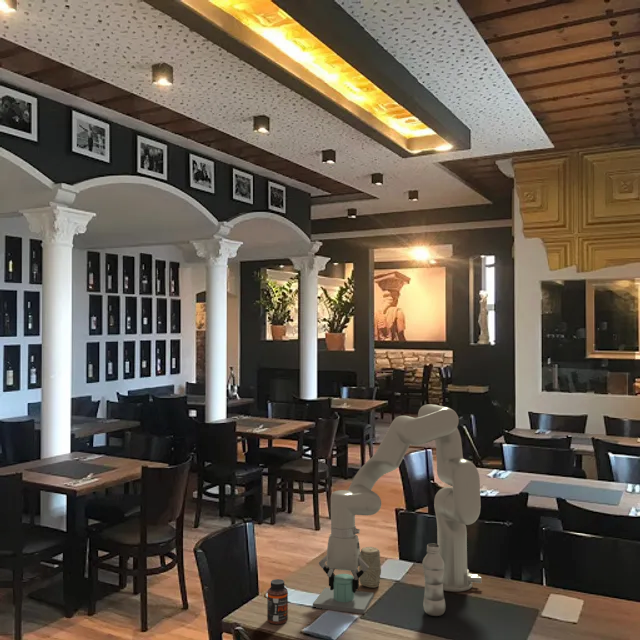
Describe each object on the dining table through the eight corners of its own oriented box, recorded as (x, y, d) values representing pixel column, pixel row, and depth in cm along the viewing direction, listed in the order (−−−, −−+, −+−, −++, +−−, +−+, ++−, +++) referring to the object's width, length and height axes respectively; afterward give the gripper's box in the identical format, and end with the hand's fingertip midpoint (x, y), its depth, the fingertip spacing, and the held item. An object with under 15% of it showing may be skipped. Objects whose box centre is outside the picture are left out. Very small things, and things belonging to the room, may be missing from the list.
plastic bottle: (432, 620, 184) (431, 550, 184) (418, 611, 190) (417, 544, 190) (450, 616, 187) (449, 547, 187) (436, 607, 193) (434, 540, 193)
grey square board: (373, 596, 201) (373, 578, 201) (364, 613, 189) (363, 594, 189) (325, 591, 206) (325, 573, 206) (312, 607, 194) (312, 588, 194)
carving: (385, 586, 210) (384, 549, 210) (367, 591, 205) (366, 553, 206) (373, 580, 215) (372, 544, 215) (355, 585, 211) (354, 548, 211)
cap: (355, 595, 199) (355, 574, 200) (350, 603, 194) (350, 581, 194) (337, 593, 201) (337, 573, 201) (331, 601, 195) (331, 579, 196)
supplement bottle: (280, 627, 181) (279, 586, 181) (263, 622, 184) (262, 582, 184) (292, 619, 186) (291, 580, 186) (275, 614, 189) (275, 576, 189)
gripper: (372, 530, 199) (373, 588, 199) (320, 526, 204) (320, 582, 204) (367, 537, 192) (368, 597, 191) (312, 533, 197) (313, 591, 197)
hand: (343, 589), depth 198 cm, fingers open, 6 cm apart
